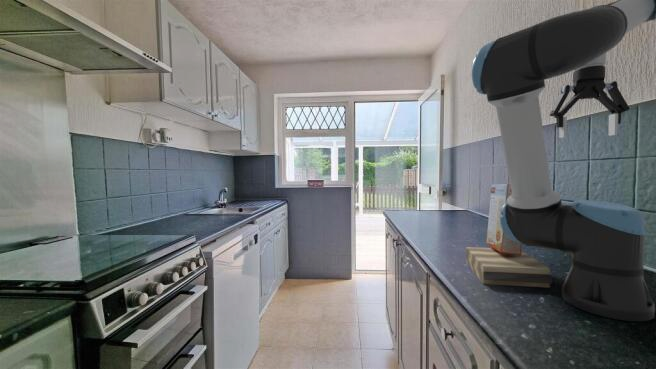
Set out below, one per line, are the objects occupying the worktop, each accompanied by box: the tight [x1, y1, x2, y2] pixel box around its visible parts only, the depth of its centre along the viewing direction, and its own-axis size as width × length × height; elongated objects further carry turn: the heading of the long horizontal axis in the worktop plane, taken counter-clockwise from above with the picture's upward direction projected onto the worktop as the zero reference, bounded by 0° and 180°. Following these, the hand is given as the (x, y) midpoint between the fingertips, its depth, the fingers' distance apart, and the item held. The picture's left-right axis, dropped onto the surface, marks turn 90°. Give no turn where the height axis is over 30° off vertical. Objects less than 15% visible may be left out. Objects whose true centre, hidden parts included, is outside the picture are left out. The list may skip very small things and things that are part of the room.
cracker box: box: [485, 183, 523, 255], centre depth 91 cm, size 14×6×21 cm, turn 167°
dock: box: [465, 246, 553, 289], centre depth 86 cm, size 20×16×5 cm
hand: (587, 136), depth 92 cm, fingers open, 13 cm apart
